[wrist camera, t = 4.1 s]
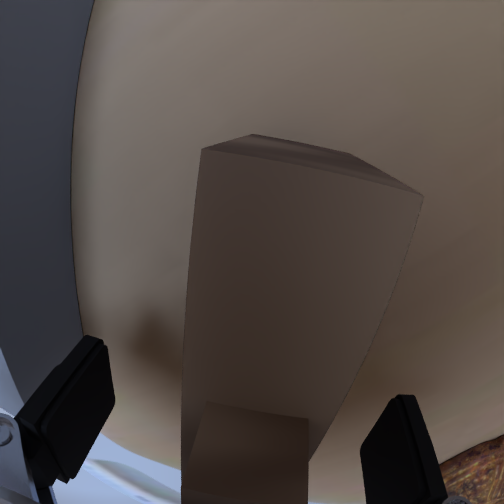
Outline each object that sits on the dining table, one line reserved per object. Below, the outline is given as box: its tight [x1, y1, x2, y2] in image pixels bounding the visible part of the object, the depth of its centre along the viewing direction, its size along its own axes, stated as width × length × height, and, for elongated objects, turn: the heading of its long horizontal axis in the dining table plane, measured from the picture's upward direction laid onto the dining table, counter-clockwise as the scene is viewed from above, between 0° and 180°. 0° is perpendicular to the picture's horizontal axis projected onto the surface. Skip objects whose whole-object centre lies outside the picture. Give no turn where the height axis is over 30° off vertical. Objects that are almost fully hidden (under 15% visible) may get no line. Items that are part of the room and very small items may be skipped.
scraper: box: [181, 134, 424, 504], centre depth 9 cm, size 3×14×8 cm, turn 171°
